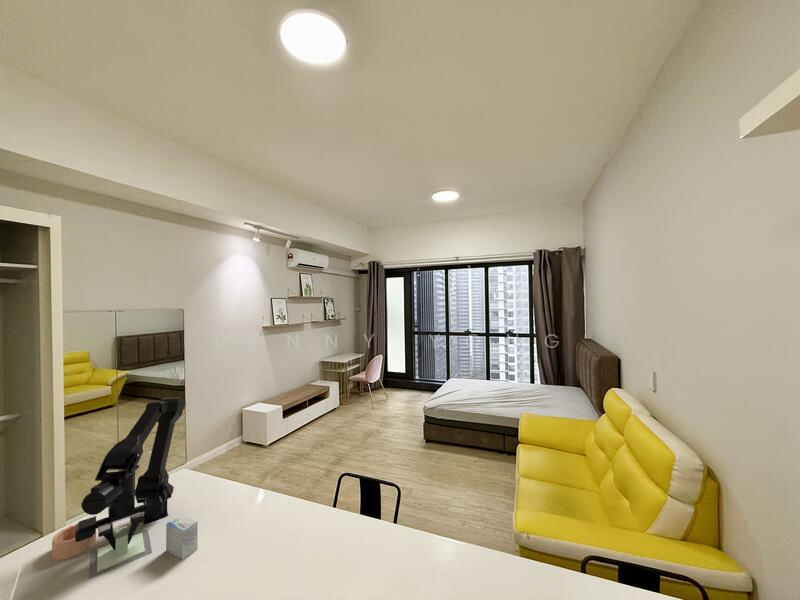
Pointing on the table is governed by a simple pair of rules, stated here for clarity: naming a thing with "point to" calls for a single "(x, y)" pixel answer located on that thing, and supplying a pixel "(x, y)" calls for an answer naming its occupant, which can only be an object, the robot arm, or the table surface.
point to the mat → (94, 559)
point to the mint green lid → (120, 549)
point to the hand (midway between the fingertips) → (121, 546)
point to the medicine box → (181, 536)
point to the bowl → (69, 543)
